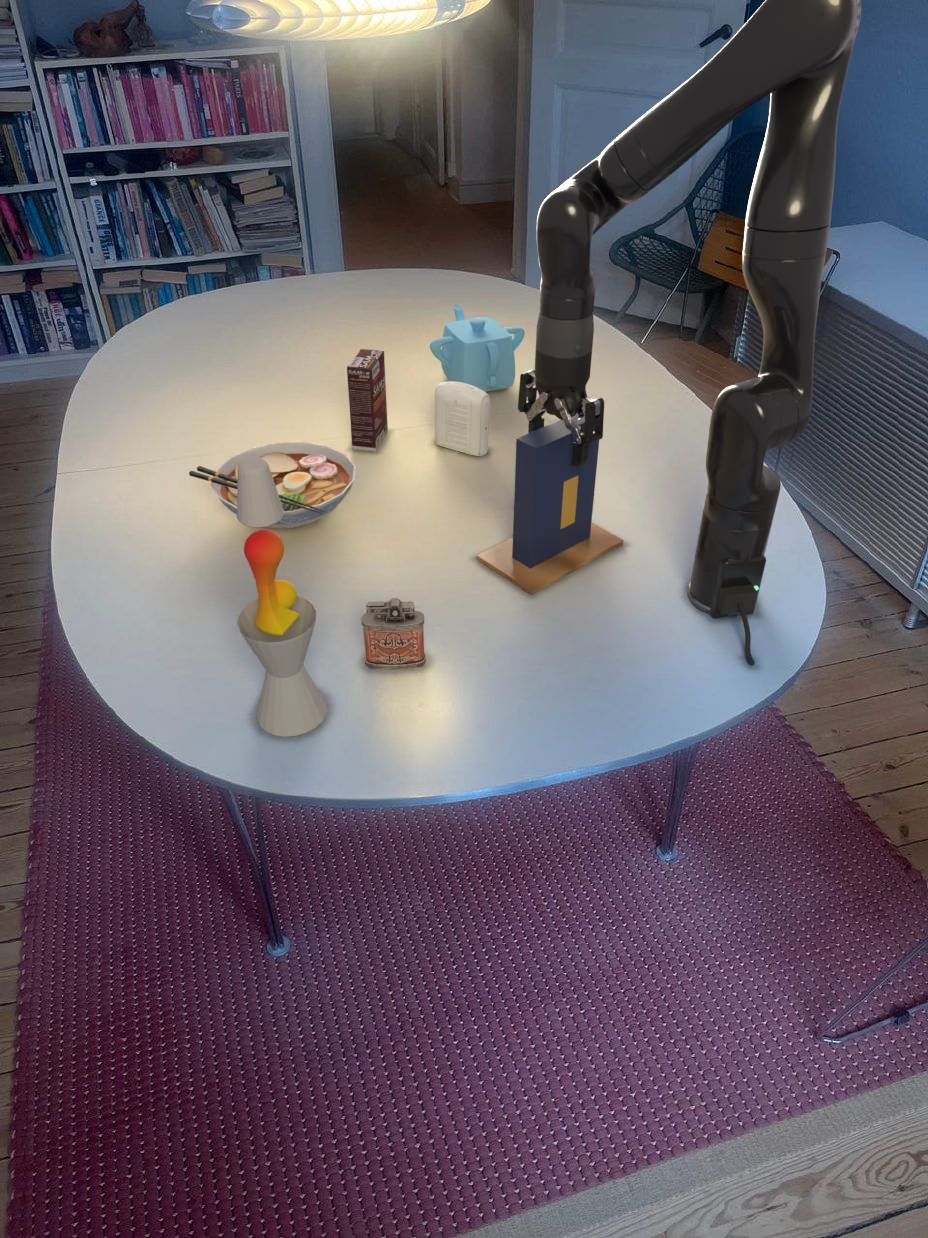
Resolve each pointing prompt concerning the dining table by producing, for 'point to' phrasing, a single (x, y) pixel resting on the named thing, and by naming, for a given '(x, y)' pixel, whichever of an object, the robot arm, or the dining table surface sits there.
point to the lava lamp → (275, 613)
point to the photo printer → (462, 418)
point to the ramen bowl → (291, 479)
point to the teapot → (478, 351)
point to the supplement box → (367, 400)
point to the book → (551, 494)
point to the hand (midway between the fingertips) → (557, 453)
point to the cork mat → (551, 568)
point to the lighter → (393, 635)
